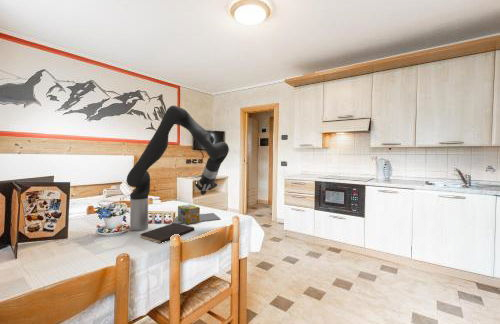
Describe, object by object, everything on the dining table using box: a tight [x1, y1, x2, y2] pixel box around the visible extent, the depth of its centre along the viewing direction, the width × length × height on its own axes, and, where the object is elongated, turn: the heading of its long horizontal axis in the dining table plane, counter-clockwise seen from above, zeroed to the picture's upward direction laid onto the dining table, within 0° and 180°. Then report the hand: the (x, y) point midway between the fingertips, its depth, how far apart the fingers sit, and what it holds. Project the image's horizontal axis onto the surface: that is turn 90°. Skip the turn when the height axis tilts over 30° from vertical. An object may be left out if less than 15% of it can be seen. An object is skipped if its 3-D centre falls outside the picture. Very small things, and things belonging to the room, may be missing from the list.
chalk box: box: [177, 204, 201, 225], centre depth 154 cm, size 9×9×15 cm
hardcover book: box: [139, 223, 195, 244], centre depth 131 cm, size 16×23×2 cm
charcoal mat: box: [171, 212, 222, 225], centre depth 159 cm, size 30×16×1 cm, turn 115°
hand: (202, 193), depth 140 cm, fingers closed
